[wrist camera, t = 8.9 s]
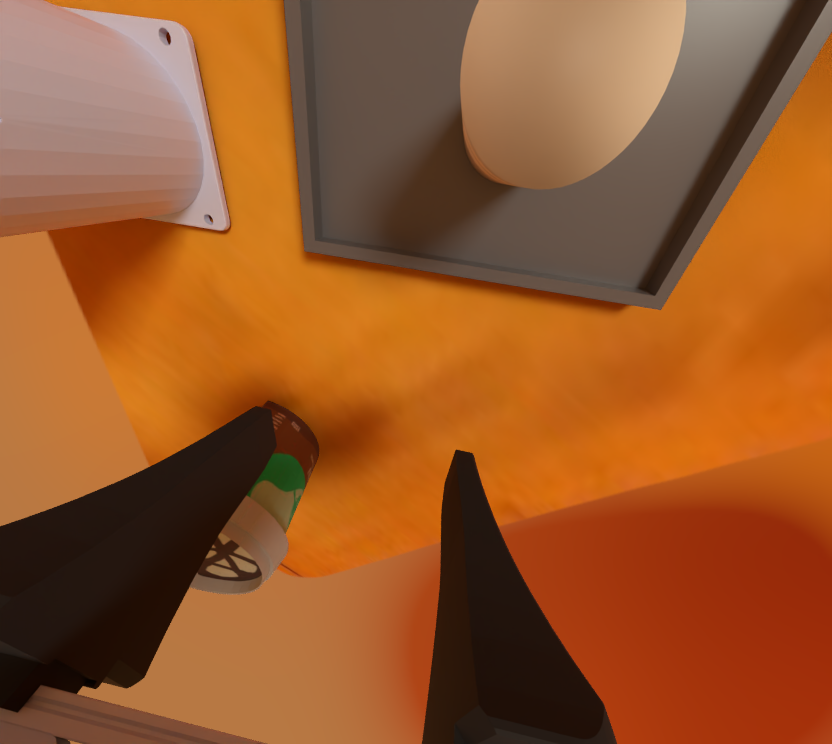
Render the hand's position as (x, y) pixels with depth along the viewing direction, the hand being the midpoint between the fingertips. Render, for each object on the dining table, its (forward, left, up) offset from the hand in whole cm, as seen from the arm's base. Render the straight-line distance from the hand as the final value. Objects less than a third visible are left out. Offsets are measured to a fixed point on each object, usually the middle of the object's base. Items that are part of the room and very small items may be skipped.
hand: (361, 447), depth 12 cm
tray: (+4, +11, -10) cm, 15 cm away
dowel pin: (+4, +11, -9) cm, 14 cm away
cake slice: (-8, -13, -10) cm, 18 cm away
